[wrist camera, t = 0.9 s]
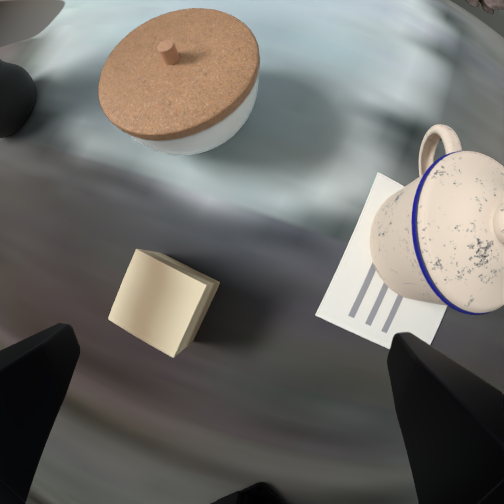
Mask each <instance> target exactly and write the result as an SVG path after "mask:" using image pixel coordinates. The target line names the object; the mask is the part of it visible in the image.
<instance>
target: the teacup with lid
mask: <svg viewBox="0 0 504 504" xmlns="http://www.w3.org/2000/svg"><path fill="white" fill-rule="evenodd" d="M441 139H442V141H443V144H444V147H445V152H446V155H444V156H442V157H440V158H439V159H438V160H436V161H435V162H434V157H435V152H436V149H437V146H438V144H439V142H440V141H441ZM419 174H420V177H419V178H417V179H416V180H414V181H413V182H411V183H410V184H408V185H407V186H405V187H404V188H402V189H401V190H399V191H398V192H396V193H395V194H393V195H392V196H390V197H389V198H388V199H387V200H386V201H385V202H384V203H383V204H382V205H381V207H380V208H379V209H378V211H377V213H376V215H375V217H374V220H373V222H372V226H371V231H370V252H371V257H372V261H373V264H374V266H375V269H376V271H377V273H378V275H379V276H380V278H381V279H382V281H383V282H384V283H385V284H386V285H387V286H388V287H389V288H390V289H391V290H392V291H394V292H395V293H397V294H398V295H400V296H402V297H405V298H408V299H413V300H418V301H423V302H429V303H434V304H440V305H445V306H449V307H451V308H453V309H455V310H457V311H459V312H462V313H465V314H470V315H480V314H486V313H489V312H492V311H494V310H496V309H498V308H500V307H502V306H503V305H504V167H503V166H502V165H501V164H499V163H498V162H497V161H495V160H494V159H492V158H490V157H488V156H486V155H484V154H481V153H477V152H473V151H462V147H461V143H460V140H459V138H458V136H457V134H456V133H455V131H454V130H453V129H452V128H450V127H449V126H446V125H440V124H438V125H434V126H432V127H431V128H430V129H429V130H428V131H427V133H426V135H425V136H424V139H423V141H422V144H421V148H420V153H419Z"/></svg>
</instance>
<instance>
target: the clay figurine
mask: <svg viewBox="0 0 504 504" xmlns="http://www.w3.org/2000/svg"><path fill="white" fill-rule="evenodd" d="M465 1H466V2H467V3H469V4H470V5H471V6H473V7H478V6H479V2H480V3H481V4H482V7H483V9H484V10H485V11H486V12H488V13H489V14H494V11H493V9H504V0H479V1H478V0H465Z"/></svg>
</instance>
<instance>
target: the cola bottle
mask: <svg viewBox="0 0 504 504" xmlns="http://www.w3.org/2000/svg"><path fill="white" fill-rule="evenodd" d="M35 97H36V87H35V84H34V82H33V80H32V78H31V76H30V75H29V74H28V72H27V71H26V70H25V69H23V68H22V67H20V66H18V65H15V64H11V63H6V62H3V61H1V60H0V138H3V137H7V136H9V135H11V134H12V133H14V132H15V131H16V130H17V129H18V128H19V127H20V126H21V125H22V124H23V123H24V122H25V120H26V119H27V117H28V116H29V114H30V112H31V110H32V108H33V105H34V102H35Z"/></svg>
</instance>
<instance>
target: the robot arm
mask: <svg viewBox="0 0 504 504" xmlns="http://www.w3.org/2000/svg"><path fill="white" fill-rule="evenodd" d="M79 355H80V346H79V343H78V340H77V338H76V335H75V332H74V330H73V327H72V326H71V325H69V324H63V323H59V324H56V325H54V326H52V327H50V328H48V329H45V330H43V331H41V332H39V333H37V334H35V335H33V336H30V337H28V338H26V339H24V340H22V341H20V342H18V343H16V344H13V345H11V346H9V347H7V348H5V349H3V350H1V351H0V504H25V502H26V500H27V496H28V493H29V490H30V487H31V484H32V481H33V478H34V475H35V472H36V469H37V466H38V463H39V461H40V458H41V455H42V452H43V450H44V447H45V444H46V442H47V439H48V437H49V434H50V432H51V429H52V427H53V424H54V422H55V419H56V417H57V414H58V412H59V410H60V407H61V405H62V403H63V400H64V398H65V395H66V393H67V390H68V387H69V384H70V381H71V378H72V375H73V372H74V369H75V366H76V363H77V361H78V358H79ZM387 365H388V370H389V375H390V381H391V386H392V392H393V397H394V403H395V409H396V413H397V417H398V421H399V424H400V428H401V432H402V435H403V439H404V443H405V447H406V450H407V454H408V458H409V462H410V466H411V470H412V475H413V479H414V483H415V488H416V492H417V497H418V501H419V504H504V394H503V395H502V392H501V391H499V390H498V389H496V388H495V387H493V386H492V385H490V384H489V383H487V382H486V381H484V380H483V379H481V378H480V377H478V376H477V375H475V374H474V373H472V372H471V371H469V370H467V369H466V368H464V367H463V366H461V365H460V364H458V363H457V362H455V361H454V360H452V359H451V358H449V357H448V356H446V355H445V354H443V353H441V352H440V351H438V350H437V349H435V348H434V347H432V346H431V345H429V344H428V343H426V342H424V341H423V340H421V339H420V338H418V337H417V336H415V335H414V334H412V333H410V332H399V333H396V334H395V335H394V336H393V339H392V343H391V347H390V350H389V354H388V359H387ZM258 487H261V488H258ZM211 504H286V503H285V502H284V501H283V500H282V499H281V498H279V497H278V496H277V495H276V494H275V493H274V492H273V491H272V490H270V489H269V488H268V487H267V486H266V485H265V484H263V483H256V484H254V485H252V486H250V487H248V488H246V489H243V490H241V491H237V492H235V493H232V494H230V495H228V496H226V497H223V498H221V499H219V500H217V501H216V502H214V503H211Z"/></svg>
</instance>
